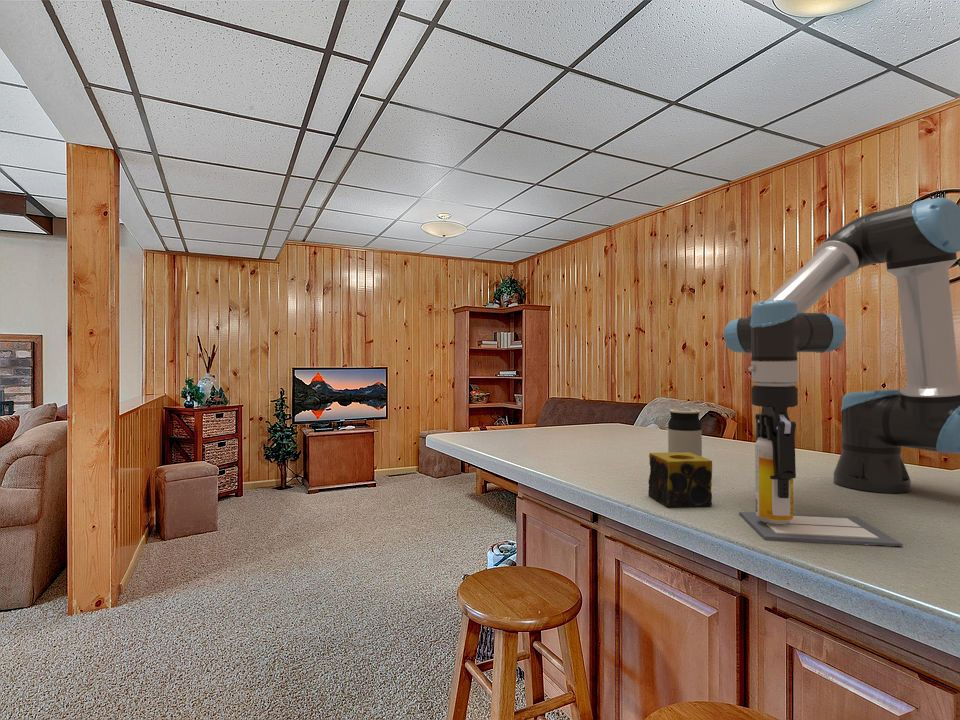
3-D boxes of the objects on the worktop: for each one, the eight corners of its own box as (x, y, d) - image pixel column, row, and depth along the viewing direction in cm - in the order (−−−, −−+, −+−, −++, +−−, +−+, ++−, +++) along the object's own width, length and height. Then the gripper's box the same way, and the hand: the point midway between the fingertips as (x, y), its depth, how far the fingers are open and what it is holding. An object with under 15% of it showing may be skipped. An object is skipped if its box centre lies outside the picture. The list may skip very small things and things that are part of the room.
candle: (647, 496, 121) (647, 452, 121) (690, 495, 122) (690, 451, 122) (666, 508, 111) (666, 461, 111) (713, 507, 112) (713, 460, 112)
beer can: (798, 525, 95) (798, 441, 95) (761, 524, 96) (761, 440, 96) (786, 515, 101) (785, 436, 101) (751, 514, 102) (751, 436, 102)
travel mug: (667, 482, 134) (667, 410, 134) (669, 475, 142) (668, 408, 142) (701, 484, 131) (701, 411, 131) (701, 478, 139) (701, 409, 139)
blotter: (856, 519, 103) (856, 515, 103) (902, 547, 88) (902, 542, 88) (739, 514, 107) (739, 510, 107) (764, 539, 92) (764, 535, 92)
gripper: (737, 382, 108) (738, 495, 108) (769, 387, 90) (770, 524, 90) (777, 382, 107) (778, 497, 107) (818, 387, 88) (819, 526, 89)
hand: (774, 509), depth 98 cm, fingers closed on beer can, 6 cm apart
